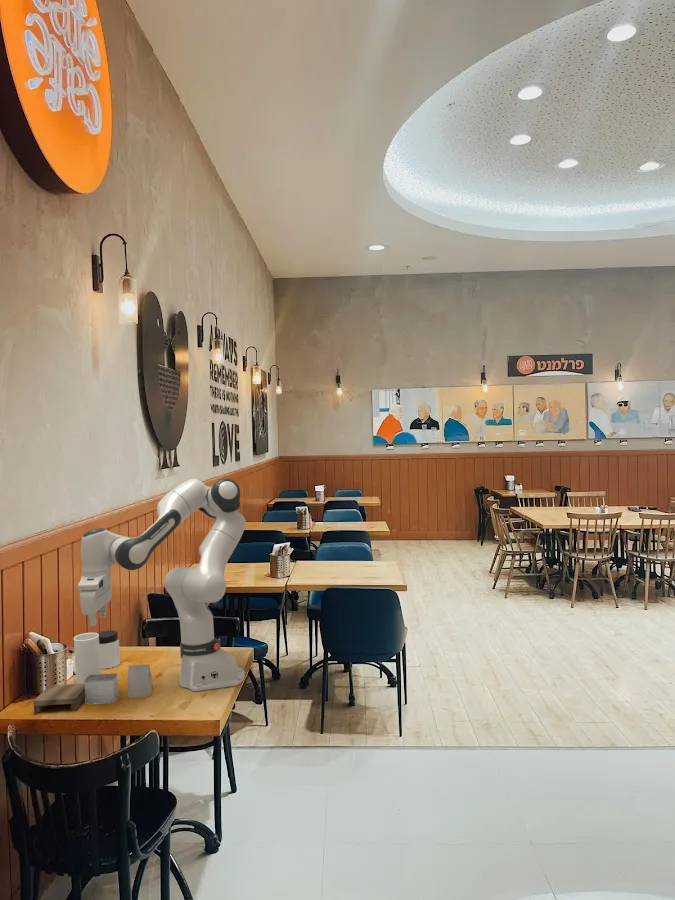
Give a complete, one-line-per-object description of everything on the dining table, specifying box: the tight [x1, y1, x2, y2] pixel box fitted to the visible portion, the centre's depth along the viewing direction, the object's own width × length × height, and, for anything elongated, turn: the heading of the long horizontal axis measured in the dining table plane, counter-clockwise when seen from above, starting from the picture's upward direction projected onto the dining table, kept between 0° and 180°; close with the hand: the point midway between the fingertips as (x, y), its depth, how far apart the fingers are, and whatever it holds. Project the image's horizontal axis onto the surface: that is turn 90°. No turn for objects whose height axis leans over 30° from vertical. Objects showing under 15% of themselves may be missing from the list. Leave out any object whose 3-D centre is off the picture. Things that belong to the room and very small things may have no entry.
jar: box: [97, 629, 121, 670], centre depth 241 cm, size 9×8×12 cm
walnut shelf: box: [33, 683, 86, 714], centre depth 207 cm, size 13×12×4 cm
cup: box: [73, 632, 102, 684], centre depth 225 cm, size 8×8×16 cm
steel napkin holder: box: [84, 672, 119, 705], centre depth 208 cm, size 9×5×8 cm, turn 92°
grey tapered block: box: [127, 664, 153, 699], centre depth 211 cm, size 4×7×10 cm, turn 90°
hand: (98, 621), depth 209 cm, fingers open, 8 cm apart
